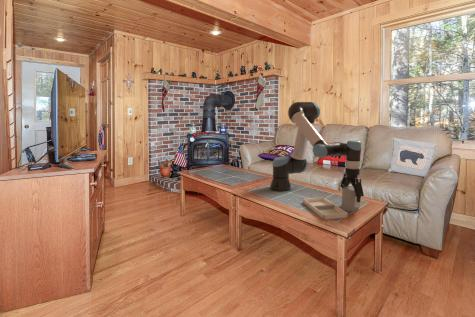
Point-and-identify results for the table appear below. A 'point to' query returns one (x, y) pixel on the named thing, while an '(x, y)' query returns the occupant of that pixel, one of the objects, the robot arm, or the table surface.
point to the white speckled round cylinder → (349, 199)
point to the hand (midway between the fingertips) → (350, 203)
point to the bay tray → (325, 208)
